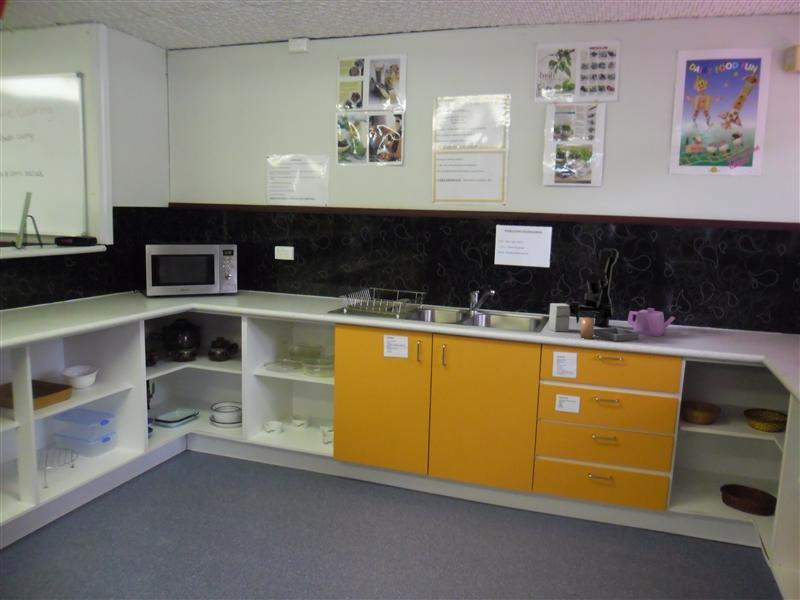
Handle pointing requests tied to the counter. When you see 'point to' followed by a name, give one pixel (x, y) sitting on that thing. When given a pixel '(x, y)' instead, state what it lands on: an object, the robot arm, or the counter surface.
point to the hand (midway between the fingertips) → (586, 324)
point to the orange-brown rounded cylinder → (587, 328)
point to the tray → (616, 334)
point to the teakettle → (649, 322)
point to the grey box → (559, 317)
